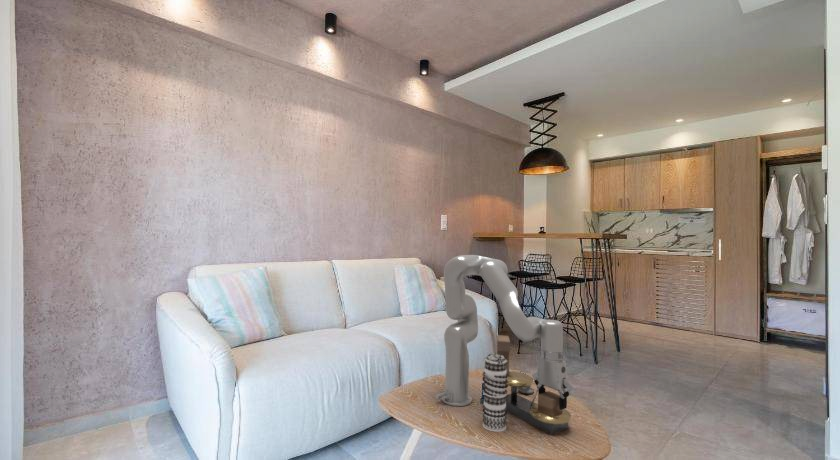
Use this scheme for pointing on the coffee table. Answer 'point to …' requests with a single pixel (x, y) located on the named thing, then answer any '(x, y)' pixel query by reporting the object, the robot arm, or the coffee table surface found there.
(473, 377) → the coffee table surface
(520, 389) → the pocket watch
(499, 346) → the decorative block
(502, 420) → the decorative candle
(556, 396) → the walnut block
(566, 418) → the balance
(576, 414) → the coffee table surface
